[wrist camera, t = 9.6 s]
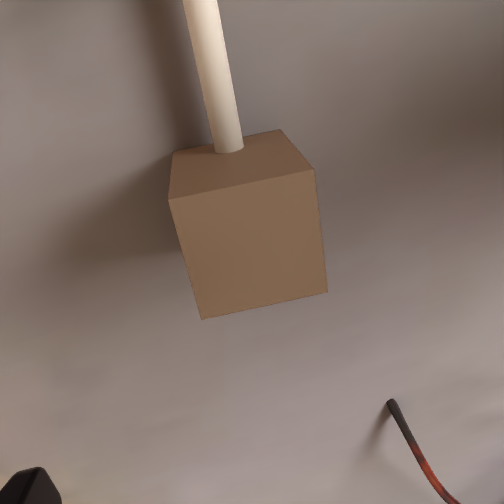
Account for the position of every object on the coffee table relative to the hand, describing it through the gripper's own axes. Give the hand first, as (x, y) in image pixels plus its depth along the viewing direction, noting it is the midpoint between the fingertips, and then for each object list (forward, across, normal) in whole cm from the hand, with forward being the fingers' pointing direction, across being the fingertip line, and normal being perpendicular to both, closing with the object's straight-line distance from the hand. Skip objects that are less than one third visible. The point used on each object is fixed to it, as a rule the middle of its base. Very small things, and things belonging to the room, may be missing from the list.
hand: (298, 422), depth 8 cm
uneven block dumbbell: (+11, 0, -7) cm, 13 cm away
